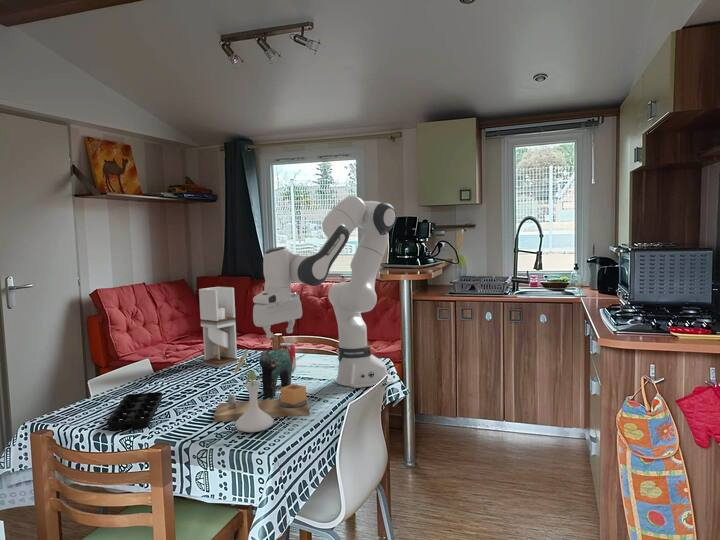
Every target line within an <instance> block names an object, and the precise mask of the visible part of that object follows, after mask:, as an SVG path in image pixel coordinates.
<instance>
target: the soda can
mask: <svg viewBox="0 0 720 540" xmlns="http://www.w3.org/2000/svg"><path fill="white" fill-rule="evenodd" d="M281 345H284V346H285V347H286V350H287V351H288V353H289V355H290V358H291V362H292V373H293V372H294V371H295V370H296V367H297V364H296V359H297V357H296V347H295V345H294V342H291V341H290V342H289V341H287V342H281V343H279V346H281ZM279 349H284V350H285V348H284V347H280V348H279Z"/></svg>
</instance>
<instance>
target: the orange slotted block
mask: <svg viewBox="0 0 720 540" xmlns="http://www.w3.org/2000/svg"><path fill="white" fill-rule="evenodd" d="M290 388H297V389H294V390H292V389H290ZM279 390H280V399H281V402H284V403H288V404H292V405H295V404H297V403H300V402H302V401H305V400H306V397H307V386H303V385H299V384H295V383H291V385H288V386H282V387H281V388H280V389H279Z"/></svg>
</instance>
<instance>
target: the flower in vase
mask: <svg viewBox="0 0 720 540" xmlns="http://www.w3.org/2000/svg"><path fill="white" fill-rule="evenodd" d="M248 352H249V350H248V349H245V350H244V352H243V354H242V356H241V358H240V359H239V362H237V366H236V367H235V369H234V371H233V373H234V374H235V375H236V374H237V373H238V372H239V370H240V369H241V367H242V366H243V365H245V367H246V370H247V371H248V373H249V374H248V375H247V378H246V381H245V383H244V385H243V386H244V387H245V388H246V390H247V392H248V395H249V396H248V397H249V401H250V407H249V409H248V410H247V411H246V412H245V413H244V414H243V415H242V416H241V417H240V418H239V419H238V420H235V421H236V422H235V425H234V426H235V428H236V429H237V431H240V432H244V433H257V432H262V431H265V430H268V429H269V428H271V427H272V426H273V424H274V422H275V421H274V418H273V417H271V416H270V415H268V414H267V413H265V412H264V411H262V410H261V409H260V408H259V407H258V403H257V401H258V393H259V389H260V387H261V385H262V382H260V381H255V380H256V379H257V376H258V375H257V374H256V372H255V370H254V369H252V370H251V369H249V366H248V365H247V363H246V361H245V359H246V357H247V354H248ZM250 370H251V371H250Z"/></svg>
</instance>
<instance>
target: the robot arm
mask: <svg viewBox="0 0 720 540" xmlns="http://www.w3.org/2000/svg"><path fill="white" fill-rule="evenodd" d="M396 219H397V213H396V209H395V208H394V206H393V205H391V204H390V203H388V202H380V201H376V200H362V199H361V198H360V197H358V196H357V195H347V197H345V198H344V199H342V200H341V201H340V202H339V203H337V204H336V205H335V206H334V207H333V208H332V209H331V210H330V211H329V213H327V214H326V216H325V217H324V219H323V221H322V225H321V226H322V231H323V233H324V235H325V236H326V238H327V239H326V241H325V242H324V243H323V245H322V246H321V247H320V249H319V251H318V252H316V253H314V254H311V255H299V254H297V253H294V252H292V251H290V250H289V249H288V248H287V247H285V246H278V247H272V248H269V249H267V250H266V251H265V252H264V255H263V264H262V265H263V270H262V271H263V276H264V277H263V278H264V280H265V281H264V286H263V287H264V288H263V289H264V290H262V291H261V292H260V293H258V294H256V295H255V296H254V297H253V298H252V302H253V303H254V305H253V307H252V309H253V310H252V319H253V324H254V325H255V326H256V327H257V328H258V327H259V328H262V329H263V331H264V332H265V334H266V337H265V338H266V339H273V338H274V332H271V326H273V325H276V324H281V323H286V322H287V323H288V325H287V327H286V328H285V330H286V332H285V333H287V334H292V333H293V332H294V325H295V323H296V320H298V319H301V318H302V317H303V307H302V300H301V298H300V294H299V293H297V292H292V287H291V286H292V285H291V284H292V283H294V284H300V285H307V286H310V287H317V286H320V285H322V284H323V283H324V282H325V281H326V279H327V278H328V275H329V274H330V273H329V272H330V269H331V268H332V266H333V263H334V262H335V260H336V259H337V258H338V256H339V255H340V253H341V252H342V250H343V249H344V248H345V246H346V245H347V243H348V242H349V238H350V235H351V234H352V232H354V231H355V229H357V228H360V229H363V235H362V237H361V239H360V241H359V243H358V245H357V248H356V250H355V252H354V255H353V257H352V260H351V262H350V269H351V275H350V281H347V282H345V281H341V282H337V283H334V284H333V285H332V286H330V288H329V290H328V293H327V296H328V300H329V303H330V304H331V305H332V308H333V311H334V314H335V319H336V322H337V323H336V324H337V328H338V331H337V332H338V347H337V360H338V368H337V369H338V370H337V375H336V376H337V377H336V378H335V379H336V380H335V383H336V384H338V385H340V386H345V387H350V388H353V389H354V388H355V389H360V388H366V387H367V388H368V387H374V386H373V385H375V384H376V383H377V382H378V381H379V380H380V379H381V378H383V377H384V376H385V375H387V376H388V379H387V383H386V384H385V385H390V384H393V383H394V376H393V375H391V373H388V369H387V366H386V364H385V363H384V362H383V361H382V360H381V359H379V358H378V357H377V356H375V355H374V353H376V352H375V351H376V350H375V348H374V347H373V346H371V345H370V344H368V333H367V332H368V331H367V330H368V329H367V324H366V323H365V321H364V320H363V317H362V313H367V312H371V311H372V310H373V309H374V308H375V307H376V304H377V301H378V296H377V293H376V289H375V287H376V285H375V284H376V279H377V274H378V271H379V269H380V267H381V264H382V261H383V258H384V256H385V254H386V251H387V248H388V245H389V243H388V242H389V239H390V236H389V233H390V231H391V230H392V228H393V227H394V225H395V223H396Z"/></svg>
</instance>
